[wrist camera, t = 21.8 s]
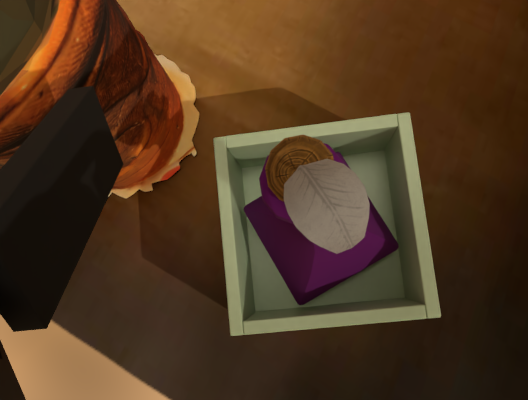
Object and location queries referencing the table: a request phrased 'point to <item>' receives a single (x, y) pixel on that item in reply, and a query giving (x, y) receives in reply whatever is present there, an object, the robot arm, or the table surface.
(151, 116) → the vessel
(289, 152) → the perfume bottle
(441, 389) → the table surface
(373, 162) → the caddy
